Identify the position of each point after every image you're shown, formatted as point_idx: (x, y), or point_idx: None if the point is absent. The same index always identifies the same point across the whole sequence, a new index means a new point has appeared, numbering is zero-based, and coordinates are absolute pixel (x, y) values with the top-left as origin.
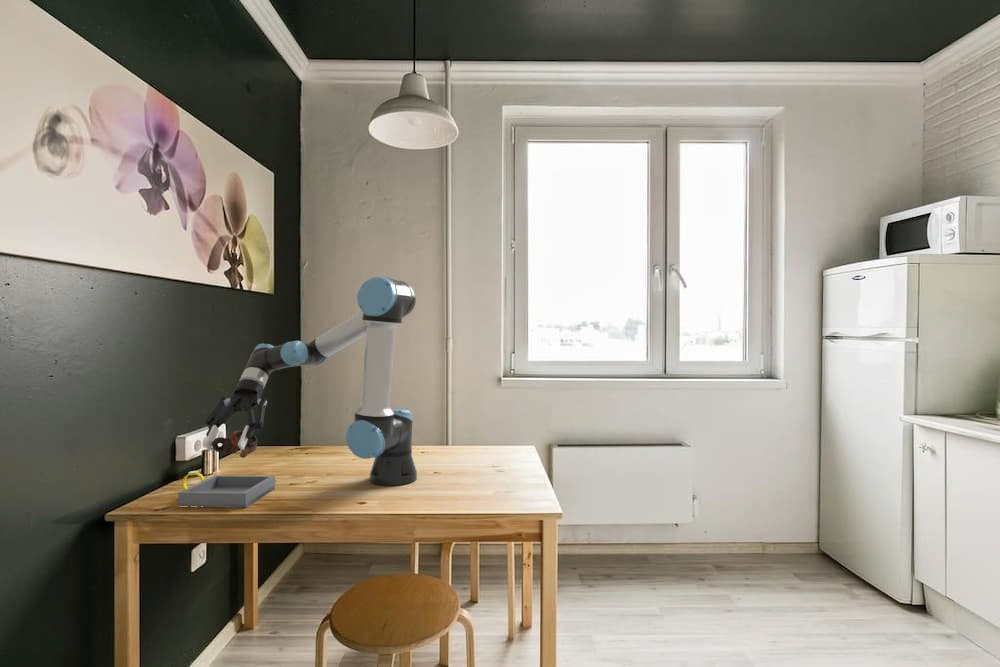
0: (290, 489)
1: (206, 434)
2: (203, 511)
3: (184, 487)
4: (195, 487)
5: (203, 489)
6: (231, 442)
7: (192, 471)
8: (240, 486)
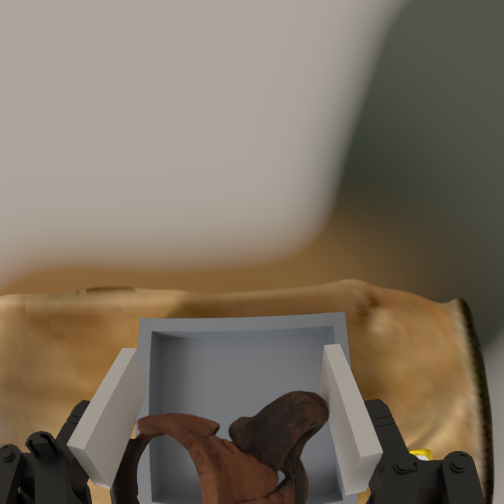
0: None
1: (382, 402)
2: (249, 300)
3: (416, 450)
4: None
5: None
6: (207, 421)
7: None
8: None
